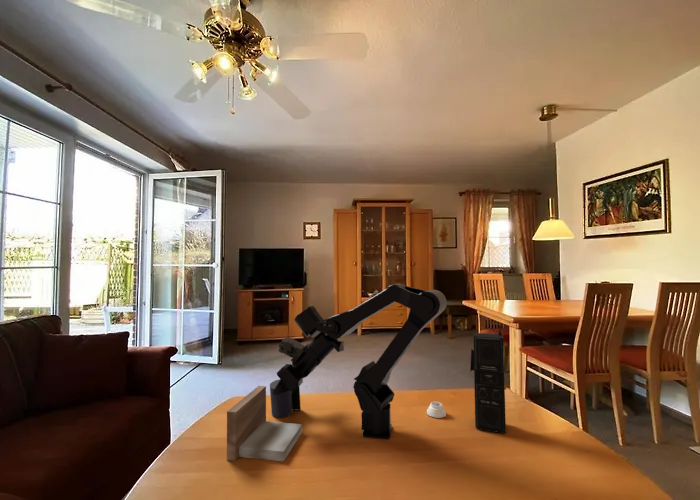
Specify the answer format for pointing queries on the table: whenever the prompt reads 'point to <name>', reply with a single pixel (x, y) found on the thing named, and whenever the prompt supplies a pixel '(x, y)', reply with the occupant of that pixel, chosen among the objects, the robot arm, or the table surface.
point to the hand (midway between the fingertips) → (278, 389)
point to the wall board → (258, 430)
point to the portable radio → (489, 381)
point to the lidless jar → (436, 410)
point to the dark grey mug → (284, 401)
